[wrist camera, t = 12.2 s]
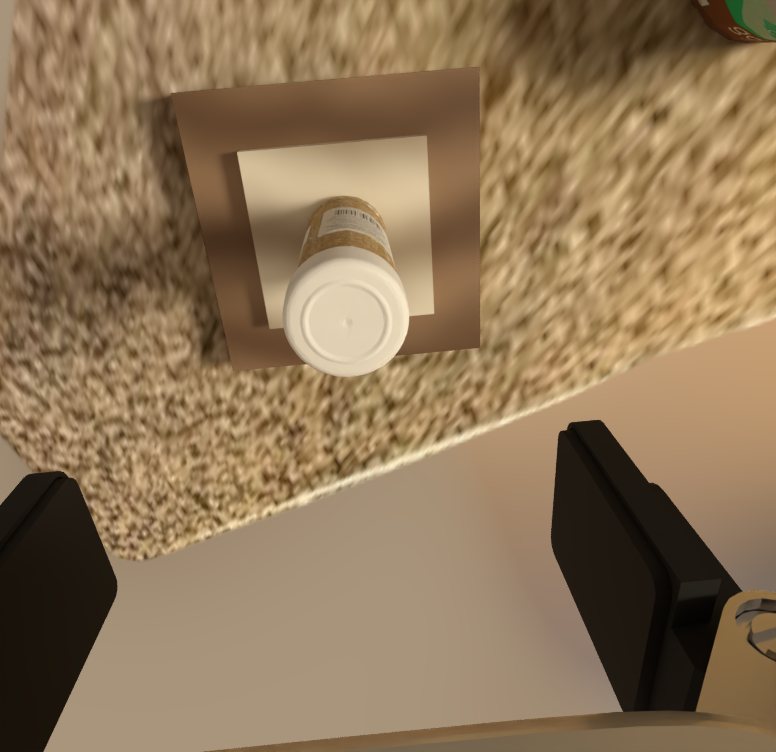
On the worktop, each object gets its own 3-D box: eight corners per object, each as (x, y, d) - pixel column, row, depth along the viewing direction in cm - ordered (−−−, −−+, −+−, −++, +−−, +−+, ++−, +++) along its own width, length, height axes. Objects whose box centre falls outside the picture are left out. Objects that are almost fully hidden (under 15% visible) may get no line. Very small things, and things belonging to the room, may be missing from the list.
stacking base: (181, 93, 31) (165, 93, 28) (472, 68, 31) (483, 65, 28) (238, 357, 38) (230, 377, 35) (474, 335, 38) (483, 354, 35)
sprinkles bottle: (290, 243, 32) (254, 335, 20) (338, 175, 30) (330, 231, 18) (355, 290, 33) (359, 402, 21) (404, 228, 32) (437, 311, 20)
